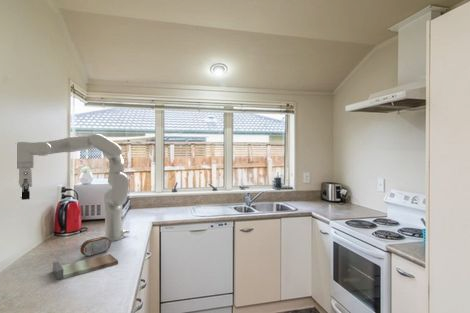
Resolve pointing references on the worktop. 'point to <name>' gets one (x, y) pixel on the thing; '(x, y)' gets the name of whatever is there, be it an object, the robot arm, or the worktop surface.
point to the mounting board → (88, 265)
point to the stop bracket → (58, 270)
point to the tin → (95, 246)
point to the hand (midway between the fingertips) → (24, 198)
